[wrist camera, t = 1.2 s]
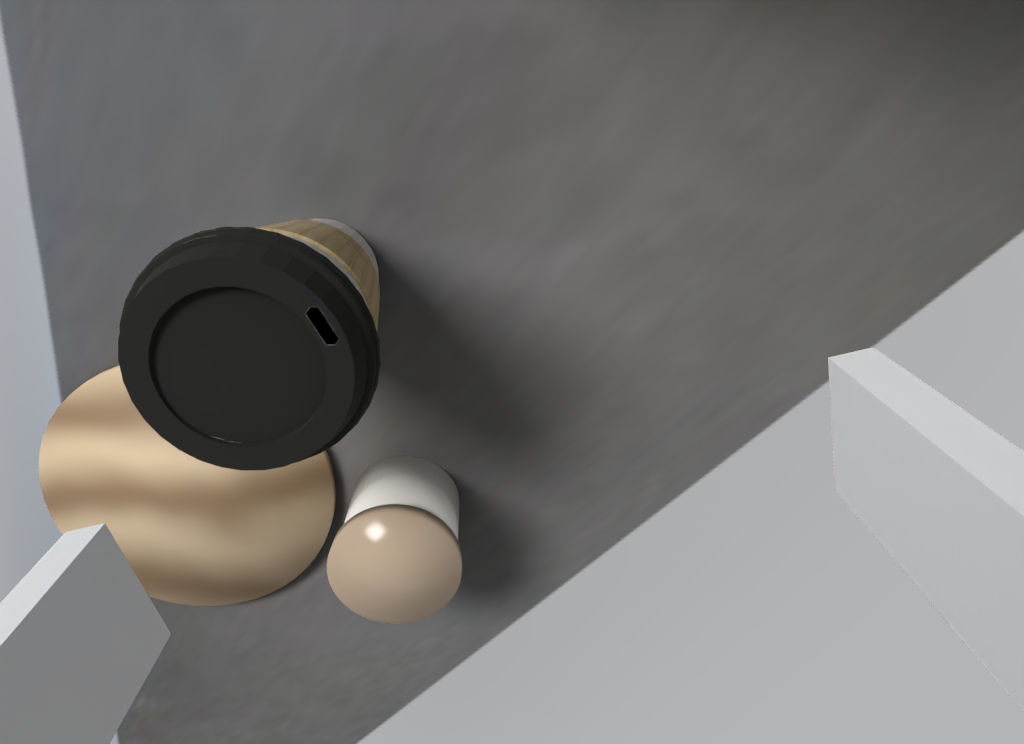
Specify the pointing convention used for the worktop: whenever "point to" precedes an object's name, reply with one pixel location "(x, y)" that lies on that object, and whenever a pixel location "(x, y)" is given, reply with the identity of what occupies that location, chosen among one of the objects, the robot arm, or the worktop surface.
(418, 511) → the sugar jar
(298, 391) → the coffee cup
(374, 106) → the worktop surface
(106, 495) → the round wooden board
